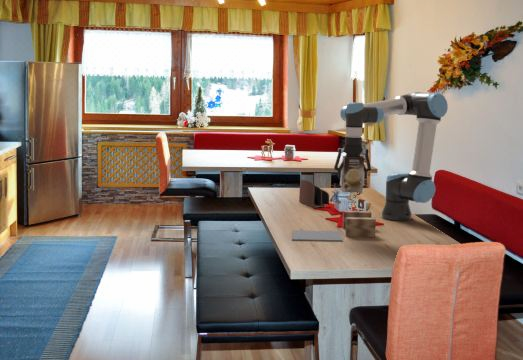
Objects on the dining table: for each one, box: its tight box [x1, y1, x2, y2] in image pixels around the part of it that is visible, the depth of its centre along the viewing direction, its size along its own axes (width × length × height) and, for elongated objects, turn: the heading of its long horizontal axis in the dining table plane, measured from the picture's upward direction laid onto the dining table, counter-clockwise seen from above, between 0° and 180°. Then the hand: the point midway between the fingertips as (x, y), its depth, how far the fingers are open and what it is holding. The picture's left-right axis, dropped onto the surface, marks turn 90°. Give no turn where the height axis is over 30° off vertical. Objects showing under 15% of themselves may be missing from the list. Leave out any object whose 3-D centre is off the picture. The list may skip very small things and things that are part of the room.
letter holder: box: [298, 179, 330, 209], centre depth 378 cm, size 10×20×14 cm, turn 20°
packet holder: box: [342, 210, 377, 238], centre depth 311 cm, size 13×20×8 cm, turn 178°
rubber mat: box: [291, 229, 343, 242], centre depth 301 cm, size 22×18×1 cm
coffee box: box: [340, 155, 365, 194], centre depth 305 cm, size 9×6×16 cm
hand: (351, 185), depth 306 cm, fingers closed on coffee box, 9 cm apart
